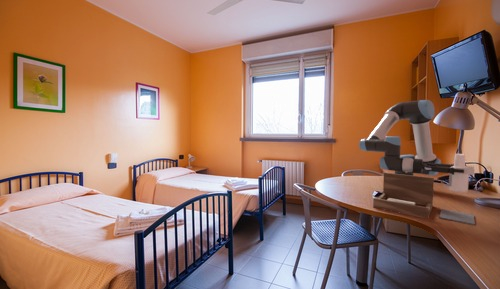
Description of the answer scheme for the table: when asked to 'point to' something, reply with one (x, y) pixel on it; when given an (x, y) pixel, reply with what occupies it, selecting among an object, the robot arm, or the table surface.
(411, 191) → the rack
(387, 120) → the robot arm
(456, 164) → the spray bottle
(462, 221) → the mat
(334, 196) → the table surface
